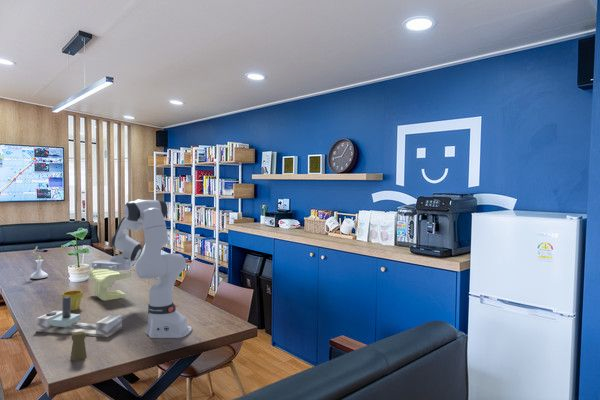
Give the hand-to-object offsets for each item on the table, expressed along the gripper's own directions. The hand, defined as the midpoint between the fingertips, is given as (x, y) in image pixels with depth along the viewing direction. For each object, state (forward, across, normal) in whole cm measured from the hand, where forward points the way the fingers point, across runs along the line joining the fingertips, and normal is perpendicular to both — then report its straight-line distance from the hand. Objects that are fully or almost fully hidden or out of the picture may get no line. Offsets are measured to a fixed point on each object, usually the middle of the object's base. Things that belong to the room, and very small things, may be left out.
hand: (101, 268), depth 210 cm
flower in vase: (-70, -100, +28) cm, 125 cm away
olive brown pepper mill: (+46, +21, +28) cm, 57 cm away
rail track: (+17, 0, +28) cm, 33 cm away
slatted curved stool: (-38, -20, +28) cm, 51 cm away
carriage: (+17, -7, +26) cm, 32 cm away
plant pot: (-11, -26, +28) cm, 40 cm away
